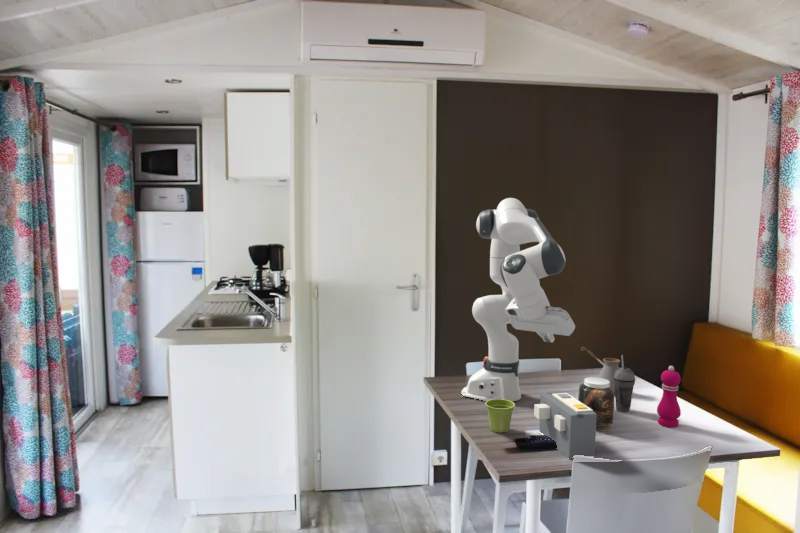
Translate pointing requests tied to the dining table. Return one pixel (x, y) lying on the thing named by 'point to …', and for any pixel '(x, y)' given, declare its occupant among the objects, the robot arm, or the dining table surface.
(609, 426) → the jar
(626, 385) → the beverage cup
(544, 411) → the button
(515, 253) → the robot arm
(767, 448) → the dining table surface
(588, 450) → the console
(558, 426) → the button
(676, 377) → the pepper mill
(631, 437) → the dining table surface
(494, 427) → the plant pot
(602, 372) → the coffee pot
